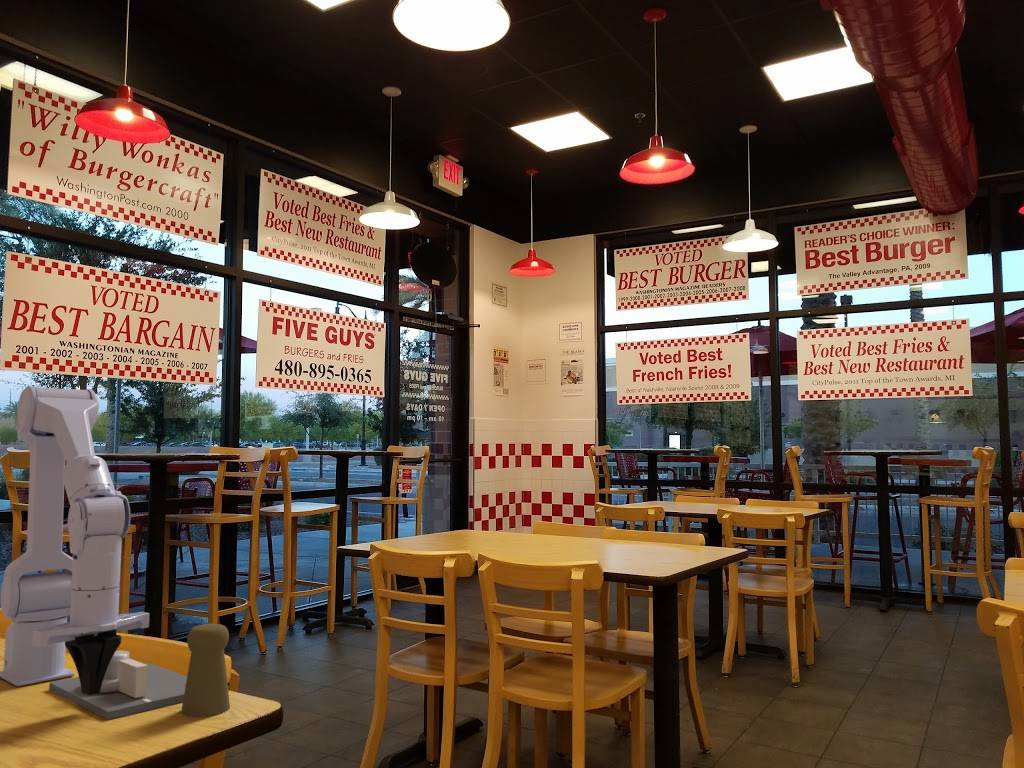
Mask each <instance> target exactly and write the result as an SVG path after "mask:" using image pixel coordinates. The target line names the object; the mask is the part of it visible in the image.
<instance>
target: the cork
mask: <svg viewBox="0 0 1024 768" xmlns="http://www.w3.org/2000/svg"><path fill="white" fill-rule="evenodd" d="M186 639H187V641H186V642H187V644H186V645H187V647H188V649H189V650H190V652H191V653H190V658H189V665H188V669H187V675H186V677H187V681H186V687H185V693H184V699H183V702H182V706H181V711H180V714H181V715H182V716H185V717H190V718H207V717H213V716H217V715H221V714H224V713H226V712H227V710H228V709H229V710H230V708H231V703H230V694H229V687H228V676H227V666H226V657H225V656H226V655H225V649H226V647H227V645H228V643H229V640H230V634H229V629H228V628H227V627H226V626H225V625H223V624H218V623H204V624H200V625H196V626H193V627H192V628H190V631H189V632H188V635H187V638H186ZM229 710H228V711H229ZM225 711H226V712H225ZM223 712H224V713H223Z"/></svg>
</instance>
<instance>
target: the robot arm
mask: <svg viewBox="0 0 1024 768" xmlns="http://www.w3.org/2000/svg"><path fill="white" fill-rule="evenodd" d="M99 408H100V407H99V399H98V395H97V394H96V392H95V391H94V390H93V389H90V388H89V389H88V388H87V389H76V388H75V389H73V388H55V387H41V386H40V387H37V386H36V387H35V386H33V385H27V386H25V388H24V389H22V391H21V393H20V395H19V399H18V403H17V417H16V420H17V421H16V433H17V440H18V441H19V442H23V443H25V444H27V445H28V451H29V480H28V506H27V508H28V509H27V530H26V532H27V533H26V535H27V536H26V551H25V552H24V553H23V554H22V555H20V556H18V557H17V558H16V559H15V560H13V561H11V562H10V563H9V564H8V565H7V566H6V567H5V570H4V572H3V574H4V575H3V582H2V585H1V589H0V607H1V612H2V614H3V615H4V616H5V617H6V618H7V619H10V620H11V622H10V624H9V625H8V627H7V629H6V631H5V636H4V637H5V638H4V654H3V655H4V656H3V657H4V658H3V670H1V671H0V678H1V679H2V680H4V681H6V682H8V683H10V684H12V685H14V686H16V687H20V686H26V685H33V684H36V683H43V682H47V681H53V680H58V679H62V678H68V677H73V676H74V675H76V673H75V671H74V670H70V669H69V668H66V667H65V664H66V649H67V651H68V653H69V655H70V657H71V659H72V660H73V662H74V665H75V668H76V671H77V675H78V677H79V679H80V684H81V690H82V693H84V694H87V695H92V694H96V693H100V689H101V686H102V682H103V679H104V676H105V673H106V670H107V668H108V665H109V663H110V661H111V659H112V657H113V655H114V653H115V652H116V651H118V648H119V647H120V645H121V644H122V635H120V634H117V633H119V632H124V631H129V630H135V629H146V628H149V627H150V613H149V612H144V611H140V612H131V613H121V614H119V609H120V607H119V606H120V589H121V588H120V587H121V583H120V582H121V562H122V543H123V539H124V538H125V537H126V536H127V535H128V532H129V530H130V527H131V526H130V525H131V507H130V503H129V500H128V498H127V496H126V495H124V494H122V492H121V491H120V490H116V489H115V486H114V482H113V479H112V477H111V474H110V471H109V467H108V464H107V462H106V460H105V459H103V458H102V457H100V456H97V455H96V453H95V447H94V442H93V437H92V431H93V429H94V426H95V424H96V423H97V419H98V417H99ZM65 491H66V495H67V499H68V503H69V505H70V507H69V510H68V516H67V529H68V536H69V552H70V554H73V555H72V556H70V555H69V554H66V553H65V551H63V534H64V533H63V532H64V531H63V529H64V504H65V503H64V501H65V500H64V499H65V498H64V497H65V496H64V495H65ZM53 570H60V571H53ZM42 571H52V572H42ZM30 572H41V573H33V574H30ZM28 573H29V574H28ZM68 617H69V621H68Z"/></svg>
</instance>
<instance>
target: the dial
mask: <svg viewBox="0 0 1024 768" xmlns="http://www.w3.org/2000/svg"><path fill="white" fill-rule="evenodd" d="M146 664H147V663H144V662H140V661H137V660H134V659H132V658H130V651H128V650H116V652H115V653H114V655H113V657H112V659H111V661H110V663H109V665H108V668H107V670H106V673H105V676H104V679H103V682H102V686H101V689H100V693H105V692H115V691H120V692H123V693H125V694H127V695H129V696H132V697H134V698H138V697H143V696H147V674H148V665H146ZM80 689H81V686H80Z"/></svg>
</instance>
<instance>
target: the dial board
mask: <svg viewBox="0 0 1024 768" xmlns="http://www.w3.org/2000/svg"><path fill="white" fill-rule="evenodd" d="M145 664H146V665H148V674H147V696H143V697H138V698H134V697H132V696H129V695H127V694H125V693H123V692H120V691H115V692H105V693H96V694H92V695H87V694H84V693H82V690H81V689H80V686H81V684H80V679H79V676H77V677H71V678H66V679H61V680H55V681H50V682H49V686H48V687H49V688H48V690H49V691H51V692H53V693H54V694H57V695H59V696H60V697H62V698H64V699H66V700H68V701H70V702H72V703H74V704H76V705H78V706H79V707H81V708H83V709H86V710H88V711H89V712H92V713H94V714H95V715H97V716H100V717H102V718H103V719H106V720H107V721H108V720H109V721H110V720H114V719H117V718H122V717H125V716H130V715H134V714H139V713H143V712H146V711H151V710H155V709H159V708H163V707H168V706H172V705H176V704H180V703H183V699H184V693H185V687H186V681H187V675H183V674H182V673H181V674H180V673H178V672H176V671H173V670H170V669H167V668H165V667H162V666H159V665H157V664H153V663H151V662H148V663H145Z"/></svg>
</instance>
